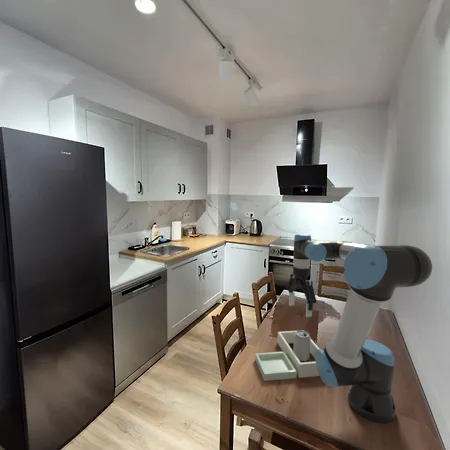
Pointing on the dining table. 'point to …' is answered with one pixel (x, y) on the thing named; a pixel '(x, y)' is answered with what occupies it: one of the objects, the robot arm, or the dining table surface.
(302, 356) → the can
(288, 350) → the white rectangular frame
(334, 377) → the robot arm
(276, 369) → the tray
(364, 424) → the dining table surface
